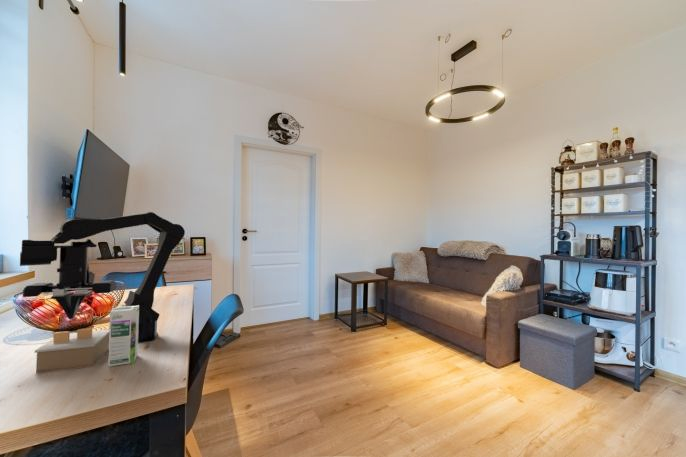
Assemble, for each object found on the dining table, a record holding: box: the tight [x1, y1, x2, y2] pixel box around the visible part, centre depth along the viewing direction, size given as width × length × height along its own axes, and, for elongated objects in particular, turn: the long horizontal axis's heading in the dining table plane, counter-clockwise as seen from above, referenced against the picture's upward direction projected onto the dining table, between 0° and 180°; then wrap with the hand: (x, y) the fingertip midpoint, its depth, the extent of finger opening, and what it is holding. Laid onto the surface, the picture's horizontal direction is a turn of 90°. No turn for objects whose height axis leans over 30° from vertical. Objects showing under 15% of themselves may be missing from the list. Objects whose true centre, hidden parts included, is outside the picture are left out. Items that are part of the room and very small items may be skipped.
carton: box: [35, 334, 109, 374], centre depth 78 cm, size 11×12×5 cm
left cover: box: [34, 330, 103, 354], centre depth 75 cm, size 12×6×3 cm, turn 113°
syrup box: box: [107, 305, 139, 368], centre depth 78 cm, size 6×6×14 cm
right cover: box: [48, 327, 110, 342], centre depth 81 cm, size 12×6×3 cm, turn 113°
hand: (71, 318), depth 81 cm, fingers closed
